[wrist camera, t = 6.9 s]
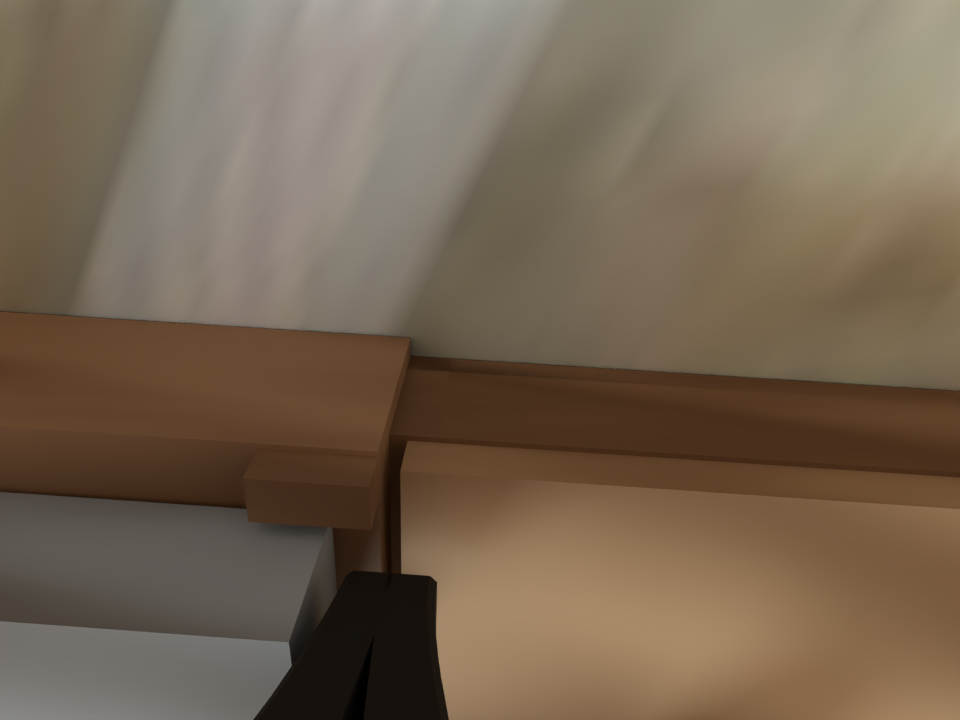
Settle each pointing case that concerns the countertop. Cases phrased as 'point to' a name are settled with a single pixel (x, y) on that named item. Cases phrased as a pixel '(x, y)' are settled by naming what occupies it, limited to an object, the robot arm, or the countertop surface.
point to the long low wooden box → (389, 420)
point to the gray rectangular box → (151, 608)
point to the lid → (684, 586)
